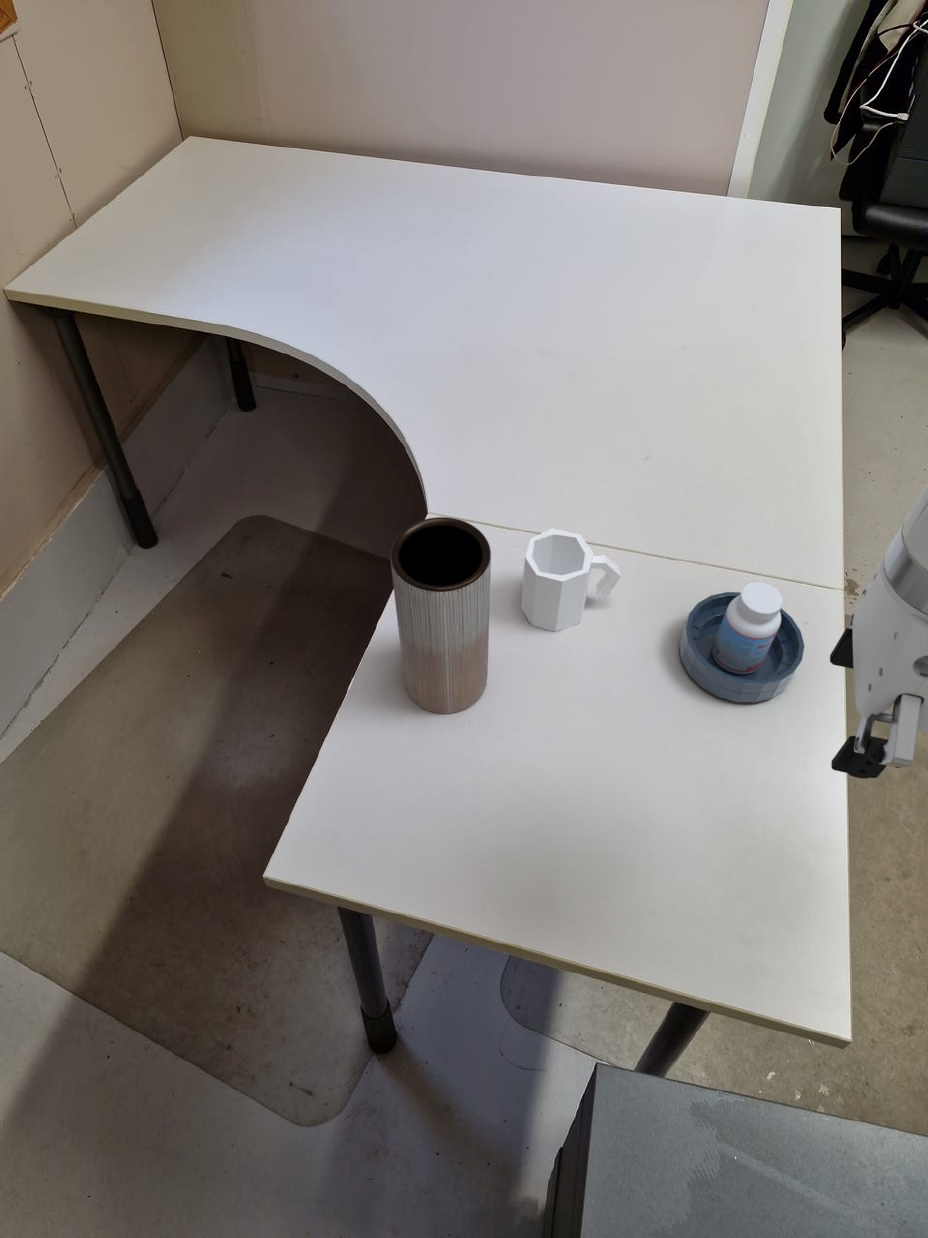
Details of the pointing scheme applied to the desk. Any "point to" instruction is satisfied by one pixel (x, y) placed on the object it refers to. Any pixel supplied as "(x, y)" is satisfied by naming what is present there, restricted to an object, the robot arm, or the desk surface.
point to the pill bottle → (748, 628)
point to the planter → (443, 611)
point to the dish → (730, 685)
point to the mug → (561, 579)
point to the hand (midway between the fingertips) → (850, 715)
